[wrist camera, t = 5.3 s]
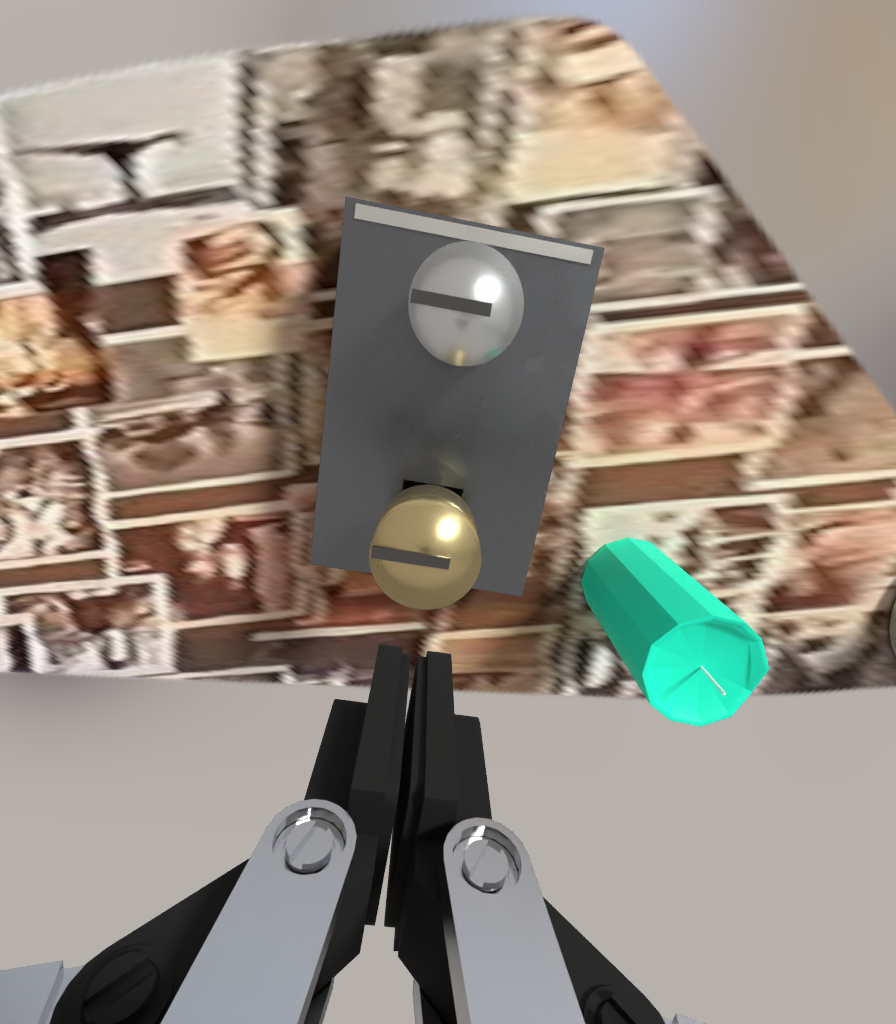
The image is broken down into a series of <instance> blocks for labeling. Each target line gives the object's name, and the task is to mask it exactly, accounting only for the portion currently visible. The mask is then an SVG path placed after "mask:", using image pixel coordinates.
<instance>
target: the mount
mask: <svg viewBox="0 0 896 1024" xmlns="http://www.w3.org/2000/svg"><path fill="white" fill-rule="evenodd" d="M461 241H472V242H478V243H482V244H485V245H487V246H490V247H492V248H494V249H495V250H497V251H498V252H500V253H501V254H502V255H503V256H504V257H505V258H506V259H507V260H508V261H509V262H510V263H511V265H512V266H513V267H514V269H515V271H516V273H517V275H518V277H519V279H520V282H521V285H522V289H523V296H524V311H523V317H522V321H521V325H520V327H519V330H518V332H517V334H516V336H515V338H514V339H513V341H512V342H511V343H510V345H509V346H508V347H507V348H506V349H505V350H504V351H503V352H502V353H501V354H499V355H498V356H497V357H495V358H494V359H492V360H490V361H488V362H485V363H482V364H479V365H474V366H456V365H451V364H447V363H445V362H442V361H440V360H438V359H437V358H435V357H434V356H433V355H431V354H430V353H429V352H428V351H427V350H426V349H425V348H424V346H423V345H422V344H421V343H420V341H419V340H418V338H417V336H416V335H415V332H414V330H413V328H412V325H411V321H410V317H409V309H408V300H409V292H410V287H411V284H412V281H413V278H414V276H415V274H416V272H417V270H418V269H419V267H420V266H421V264H422V263H423V262H424V261H425V260H426V259H427V258H428V257H429V256H430V255H431V254H432V253H433V252H435V251H436V250H438V249H439V248H441V247H444V246H446V245H448V244H451V243H455V242H461ZM603 252H604V248H601V247H596V246H591V245H586V244H581V243H576V242H571V241H566V240H561V239H556V238H551V237H546V236H541V235H536V234H531V233H526V232H521V231H516V230H511V229H506V228H501V227H496V226H491V225H486V224H481V223H476V222H471V221H466V220H461V219H456V218H451V217H446V216H440V215H435V214H430V213H425V212H420V211H415V210H410V209H405V208H400V207H395V206H390V205H385V204H380V203H375V202H370V201H365V200H360V199H355V198H350V197H345V207H344V218H343V228H342V239H341V249H340V259H339V270H338V280H337V290H336V301H335V311H334V321H333V332H332V342H331V352H330V363H329V373H328V383H327V394H326V404H325V414H324V425H323V435H322V445H321V456H320V466H319V476H318V487H317V497H316V507H315V518H314V528H313V538H312V549H311V559H310V564H312V565H318V566H325V567H332V568H338V569H345V570H352V571H358V572H365V573H371V569H370V564H369V550H370V545H371V542H372V539H373V537H374V534H375V531H376V529H377V526H378V524H379V521H380V518H381V516H382V513H383V511H384V509H385V507H386V506H387V504H388V503H389V502H390V501H391V499H392V498H393V497H395V496H396V495H397V494H398V493H400V492H402V491H403V490H405V486H406V480H410V481H416V482H422V483H428V484H435V485H441V486H447V487H453V488H456V494H457V495H459V496H460V497H461V498H462V499H463V500H464V501H465V503H466V504H467V505H468V507H469V508H470V510H471V512H472V514H473V518H474V521H475V525H476V530H477V534H478V539H479V543H480V548H481V568H480V572H479V575H478V577H477V579H476V581H475V583H474V585H473V586H472V589H479V590H486V591H492V592H499V593H506V594H512V595H519V596H522V594H523V590H524V586H525V581H526V577H527V573H528V569H529V564H530V560H531V556H532V552H533V548H534V543H535V539H536V535H537V531H538V526H539V522H540V518H541V514H542V510H543V505H544V501H545V497H546V493H547V488H548V484H549V480H550V476H551V472H552V467H553V463H554V459H555V455H556V450H557V446H558V442H559V438H560V434H561V429H562V425H563V421H564V417H565V412H566V408H567V404H568V400H569V396H570V391H571V387H572V383H573V379H574V374H575V370H576V366H577V362H578V357H579V353H580V349H581V345H582V341H583V336H584V332H585V328H586V324H587V319H588V315H589V311H590V307H591V303H592V298H593V294H594V290H595V286H596V281H597V277H598V273H599V269H600V265H601V260H602V256H603Z"/></svg>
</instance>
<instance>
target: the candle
mask: <svg viewBox="0 0 896 1024" xmlns="http://www.w3.org/2000/svg"><path fill="white" fill-rule="evenodd" d="M581 583H582V587H583V591H584V595H585V599H586V602H587V603H588V605H589V607H590V608H591V610H592V611H593V613H594V615H595V616H596V618H597V619H598V621H599V623H600V624H601V626H602V628H603V629H604V631H605V632H606V634H607V636H608V637H609V639H610V640H611V642H612V644H613V645H614V647H615V648H616V650H617V652H618V653H619V655H620V657H621V658H622V660H623V661H624V663H625V665H626V666H627V668H628V669H629V671H630V673H631V674H632V676H633V677H634V679H635V681H636V682H637V684H638V686H639V687H640V689H641V690H642V692H643V694H644V695H645V697H646V698H647V700H648V702H649V703H650V705H651V706H653V707H654V708H655V709H656V710H658V711H659V712H660V713H661V714H663V715H664V716H665V717H666V718H668V719H669V720H671V721H676V722H681V723H686V724H691V725H696V726H703V725H707V724H710V723H713V722H716V721H719V720H723V719H726V718H729V717H731V716H732V715H733V714H734V713H735V712H736V710H737V709H738V708H739V707H740V706H741V705H742V703H743V702H744V701H745V700H746V699H747V698H748V696H749V695H750V694H751V693H752V692H753V690H754V689H755V688H756V686H757V685H758V684H759V682H760V681H761V680H762V678H763V677H764V676H765V674H766V673H767V672H768V670H769V666H768V662H767V658H766V654H765V650H764V646H763V642H762V639H761V638H760V637H759V636H758V635H757V634H756V633H755V632H754V631H753V630H752V629H751V628H750V627H749V626H748V625H747V624H746V623H745V622H744V621H743V620H742V619H741V618H740V617H738V616H737V615H736V614H735V613H734V612H732V611H731V610H730V609H729V608H728V607H726V606H725V605H724V604H723V603H722V602H721V601H719V600H718V599H717V598H716V597H715V596H713V595H712V594H711V593H710V592H709V591H707V590H706V589H705V588H704V587H703V586H702V585H700V584H699V583H698V582H697V581H696V580H694V579H693V578H692V577H691V576H690V575H688V574H687V573H686V572H685V571H684V570H683V569H681V568H680V567H679V566H678V565H677V564H675V563H674V562H673V561H672V560H671V559H669V558H668V557H667V556H666V555H665V554H664V553H662V552H661V551H660V550H659V549H658V548H656V547H655V546H654V545H653V544H652V543H650V542H646V541H642V540H637V539H632V538H625V539H622V540H619V541H615V542H612V543H608V544H605V545H604V546H603V547H602V548H601V549H600V550H599V551H598V552H597V553H595V554H594V555H593V556H592V557H591V558H590V559H589V560H588V562H587V565H586V568H585V571H584V574H583V577H582V580H581Z"/></svg>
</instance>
